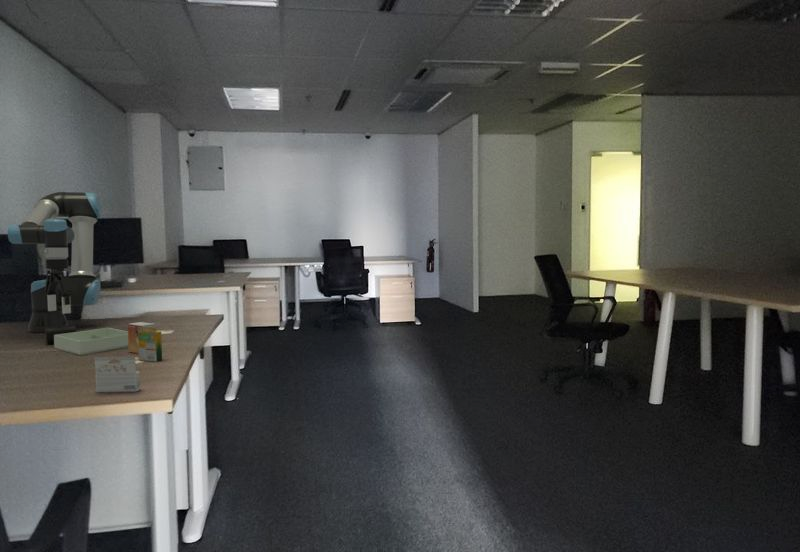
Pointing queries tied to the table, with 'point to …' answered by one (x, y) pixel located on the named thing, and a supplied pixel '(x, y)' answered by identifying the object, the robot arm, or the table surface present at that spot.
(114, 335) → the organizer tray
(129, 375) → the ink cartridge box
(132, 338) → the small box
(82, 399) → the table surface
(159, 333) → the crayon box
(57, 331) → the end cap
